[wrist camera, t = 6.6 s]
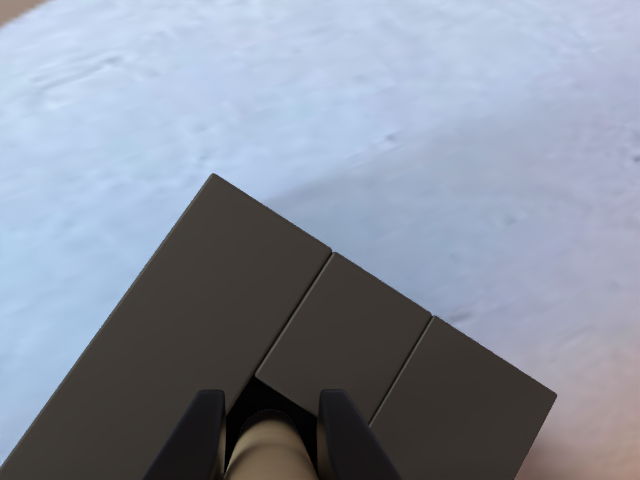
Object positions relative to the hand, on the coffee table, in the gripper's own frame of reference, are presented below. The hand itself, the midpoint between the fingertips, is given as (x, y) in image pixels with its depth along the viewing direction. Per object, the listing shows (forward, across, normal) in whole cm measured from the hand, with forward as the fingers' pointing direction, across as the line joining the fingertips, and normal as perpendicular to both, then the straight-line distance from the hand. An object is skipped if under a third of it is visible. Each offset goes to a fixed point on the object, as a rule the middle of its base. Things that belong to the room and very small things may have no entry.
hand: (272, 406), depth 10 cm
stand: (+4, 0, +6) cm, 7 cm away
